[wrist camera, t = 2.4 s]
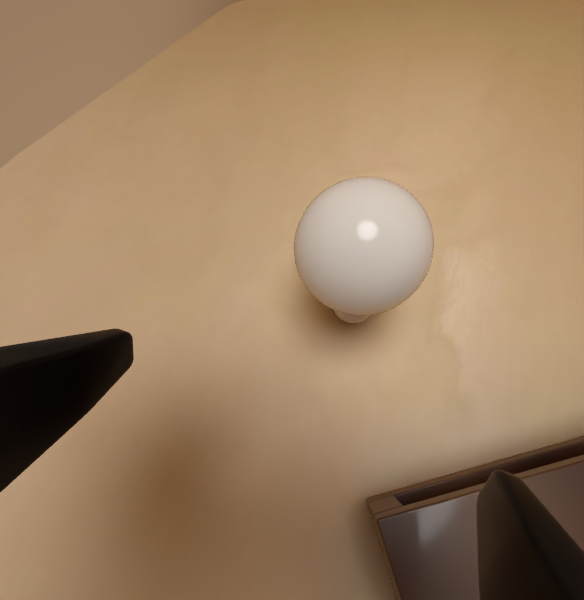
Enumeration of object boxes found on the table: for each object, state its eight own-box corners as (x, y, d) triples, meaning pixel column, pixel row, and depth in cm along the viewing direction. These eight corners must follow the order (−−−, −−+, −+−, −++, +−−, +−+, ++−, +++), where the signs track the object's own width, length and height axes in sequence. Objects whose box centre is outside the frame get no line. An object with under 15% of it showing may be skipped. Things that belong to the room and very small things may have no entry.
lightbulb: (336, 254, 24) (337, 125, 14) (416, 293, 22) (482, 176, 12) (289, 322, 23) (253, 232, 12) (371, 371, 21) (406, 310, 11)
